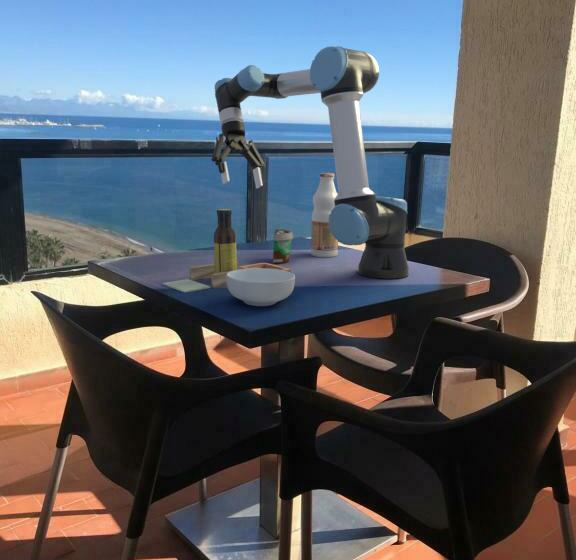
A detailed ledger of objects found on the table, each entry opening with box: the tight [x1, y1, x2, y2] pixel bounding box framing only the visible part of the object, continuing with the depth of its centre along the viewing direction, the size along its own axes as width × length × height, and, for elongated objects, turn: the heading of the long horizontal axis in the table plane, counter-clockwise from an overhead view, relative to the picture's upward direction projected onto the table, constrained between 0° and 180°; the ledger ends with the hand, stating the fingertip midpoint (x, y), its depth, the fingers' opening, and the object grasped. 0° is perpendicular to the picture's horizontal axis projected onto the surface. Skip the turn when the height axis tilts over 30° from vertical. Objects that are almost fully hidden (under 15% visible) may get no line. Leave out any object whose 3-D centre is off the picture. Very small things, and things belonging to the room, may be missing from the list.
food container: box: [272, 228, 294, 265], centre depth 194 cm, size 12×6×10 cm, turn 179°
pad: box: [162, 278, 211, 293], centre depth 161 cm, size 11×8×1 cm
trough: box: [189, 260, 261, 289], centre depth 169 cm, size 12×16×4 cm
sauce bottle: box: [213, 208, 238, 273], centre depth 167 cm, size 6×6×20 cm
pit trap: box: [238, 262, 292, 273], centre depth 179 cm, size 12×10×2 cm
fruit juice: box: [310, 172, 339, 258], centre depth 205 cm, size 9×9×28 cm
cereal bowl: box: [226, 268, 296, 307], centre depth 147 cm, size 17×17×7 cm
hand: (243, 184), depth 193 cm, fingers open, 13 cm apart
